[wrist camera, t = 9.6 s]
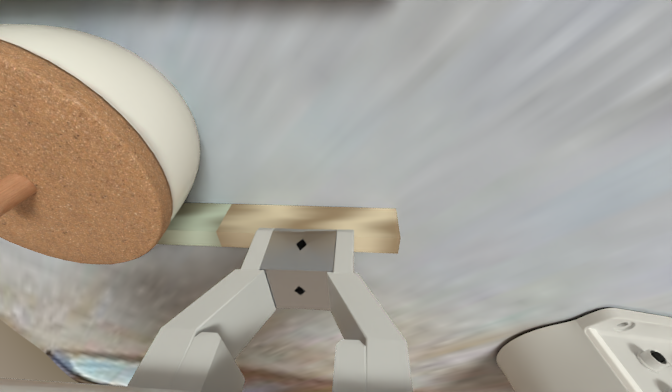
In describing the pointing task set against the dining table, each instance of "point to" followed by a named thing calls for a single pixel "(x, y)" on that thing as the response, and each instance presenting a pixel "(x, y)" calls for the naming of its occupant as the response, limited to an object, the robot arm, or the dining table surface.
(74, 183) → the lidded jar
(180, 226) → the bay
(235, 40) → the dining table surface
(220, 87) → the dining table surface
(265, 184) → the dining table surface
